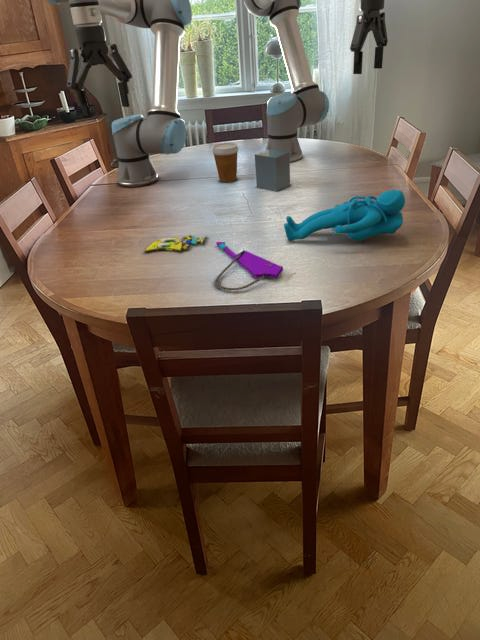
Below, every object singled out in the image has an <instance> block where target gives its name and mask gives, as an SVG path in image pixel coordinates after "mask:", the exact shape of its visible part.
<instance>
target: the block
mask: <svg viewBox="0 0 480 640" xmlns="http://www.w3.org/2000/svg"><path fill="white" fill-rule="evenodd" d="M254 163H255V181H256V183H255V185H256V188H259V189H264V190H268V191H273V192H279V191H281V190H283V189H286V188H288V187H289V186H291V162H290V152H284V151H277V150H270V149H268V150H266V149H265V150H263V151H259V152H257V153H255V154H254Z"/></svg>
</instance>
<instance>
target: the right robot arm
mask: <svg viewBox="0 0 480 640" xmlns="http://www.w3.org/2000/svg"><path fill="white" fill-rule="evenodd" d="M243 3H244V6H245V9H246V10H247V11H248V12H249V13H250V14H251V15H253V16H256V17H258V18H262V17H268V20H269V24H270V26H272V27H274V28H275V30H276V34H277V39H278V42H279V46H280V49H281V53H282V56H283V61H284V64H285V68H286V72H287V76H288V79H289V82H290V86H291V92H287V93H281V94H277V95H274V96H272V97H270V98H269V99H268V100H267V101H266V118H267V119H266V121H267V142H266V147H265V150H268V149H270V150H277V151H284V152H290V163H292V162H296V161H299V160H301V159H302V158H303V151H302V148H301V144H300V142H299V139H298V129H299V128H304V127H309V126H315V125H317V124H319V123H321V122H323V121H324V120H326V118H327V116H328V113H329V110H330V100H329V96H328V95H327V94H326V92H324V91H322V90H320V87H319V84H318V83H316V82H315V81H314V79H313V76H312V71H311V68H310V64H309V61H308V57H307V53H306V49H305V45H304V42H303V38H302V34H301V31H300V27H299V22H298V17H299V14H300V9H301V7H302V1H301V0H243ZM384 9H385V0H359V11H360V12H362V14H359V15H356V21H355V22H356V24H355V26H354V31H353V35H352V39H351V42H350V46H349V50H350V52H351V53H352V52H353V68H352V69H353V71H352V74H353V75H361V74H362V75H363V59H364V58H363V57H364V56H363V55H364V51H362V49H363V48H364V46H365V43H366V39H367V37H368V34H369V33H370V32H372V35H373V38H374V41H375V45H376V46H375V47H374V58H373V59H374V60H373V63H374V64H373V69H383V61H384V60H383V59H384V47H387V46H388V33H387V26H386V12H381V11H382V10H384Z"/></svg>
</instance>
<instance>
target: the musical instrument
mask: <svg viewBox="0 0 480 640" xmlns="http://www.w3.org/2000/svg"><path fill="white" fill-rule="evenodd" d="M216 246H218V247H219V249H220V250H221V251H223V252H225V254H227V255H228V256H229V257H231V259H233V260H232V261H231V262H230V263H229V264H227V266H225V268H224V269H223V270H222V271H221V272H220V273H219V274H218V275H217V276H216V278H215V280H214V284H215V287H216V288H217V289H222V290H225V291H239V290H243V289H246V288H249V287H251V286H253V285H255V284H256V283H258V282H260V281H261V280H262V279H264V278H272V279H278V278H279V277H280V275H281V274H282V273H283V271H284V266H282V265H280V264H277V263H275V262H273V261H270V260H268V259H265V258H263V257H261V256H259V255H257V254H254V253H252V252H250V251H248V250H244V249H243V250H242V251H240V252H238V253H235V252H234V251H232V250H231V249H230V248H229V247H228V246H227V245H226V242H225V241H216ZM234 263H237V264H239V265H240V266H241V267H242V268H244V269H245V270H246V271H247V272H248V273H249V274H251V275H252V276H253V277H255V280H254V281H251V282H250V283H248V284H246V285H243V286H240V287H226V286H221V285H220V284H219V280H220V278H221V277H222V276H223V275H224V273H226V272H227V270H228V269H229V268H230V267H231V266H233V264H234Z"/></svg>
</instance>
